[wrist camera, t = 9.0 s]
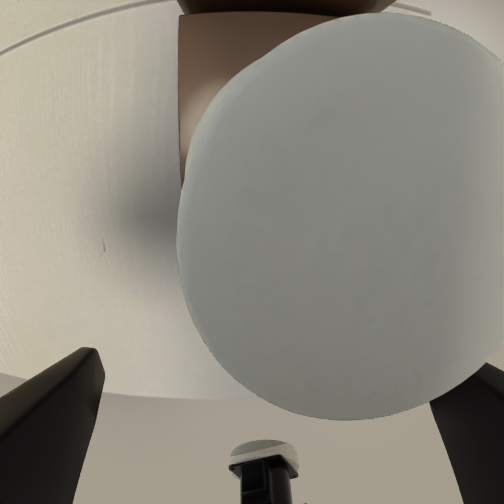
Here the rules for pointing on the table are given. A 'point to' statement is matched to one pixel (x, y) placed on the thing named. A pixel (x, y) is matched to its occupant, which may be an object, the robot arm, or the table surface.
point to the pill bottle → (350, 217)
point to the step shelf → (239, 44)
